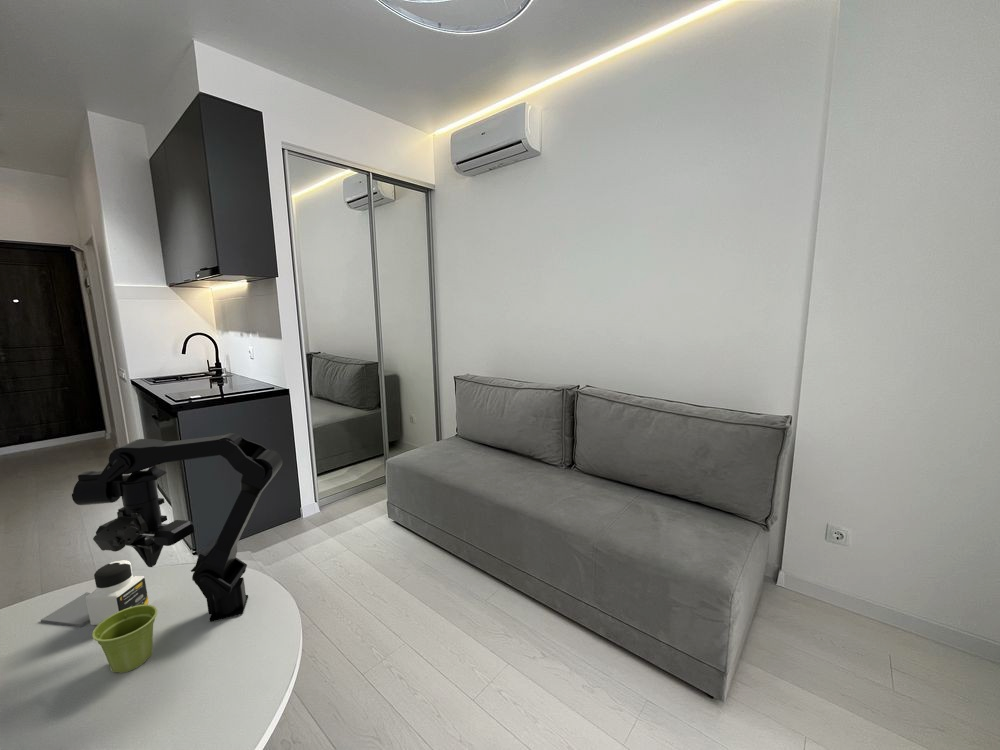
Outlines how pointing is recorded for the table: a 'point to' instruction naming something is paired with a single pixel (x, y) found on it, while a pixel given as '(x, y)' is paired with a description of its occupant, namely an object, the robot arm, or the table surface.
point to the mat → (71, 613)
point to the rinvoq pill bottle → (115, 591)
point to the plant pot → (127, 637)
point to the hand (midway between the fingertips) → (152, 566)
